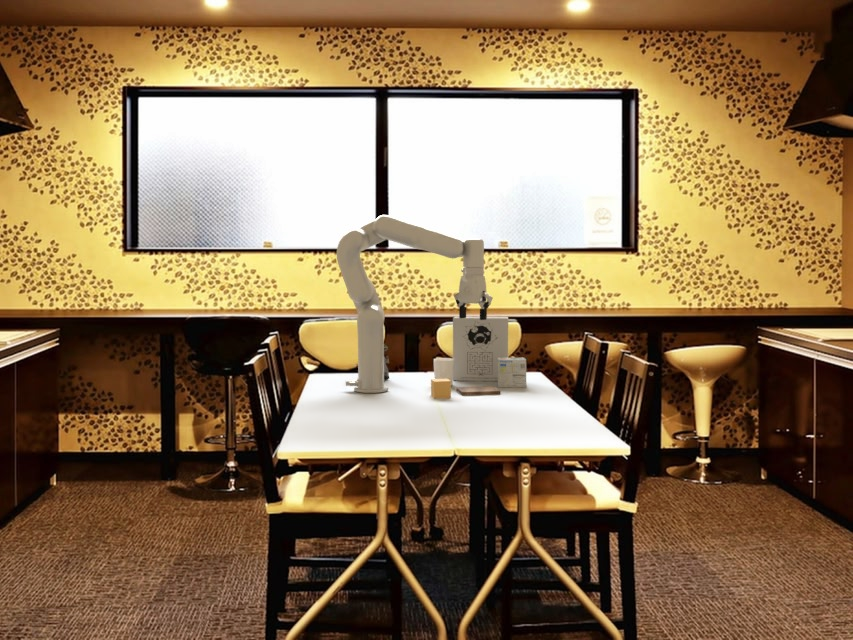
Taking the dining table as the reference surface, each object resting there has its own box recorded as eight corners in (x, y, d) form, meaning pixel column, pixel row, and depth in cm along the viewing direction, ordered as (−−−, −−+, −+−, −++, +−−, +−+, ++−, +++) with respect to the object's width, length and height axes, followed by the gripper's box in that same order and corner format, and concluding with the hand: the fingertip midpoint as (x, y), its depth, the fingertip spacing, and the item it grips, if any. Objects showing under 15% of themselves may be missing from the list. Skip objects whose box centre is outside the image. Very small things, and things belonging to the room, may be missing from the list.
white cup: (431, 386, 352) (431, 360, 351) (436, 383, 359) (436, 357, 358) (451, 386, 350) (451, 360, 349) (456, 383, 357) (456, 358, 356)
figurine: (373, 377, 375) (373, 340, 374) (391, 380, 367) (391, 342, 365) (355, 379, 369) (355, 342, 368) (373, 382, 361) (373, 344, 359)
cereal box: (507, 378, 371) (508, 316, 369) (507, 381, 363) (507, 318, 361) (454, 377, 373) (454, 316, 371) (452, 380, 365) (452, 317, 363)
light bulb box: (524, 384, 355) (524, 356, 354) (526, 387, 349) (527, 359, 348) (496, 384, 355) (496, 357, 354) (498, 387, 348) (498, 359, 347)
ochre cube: (434, 398, 324) (434, 381, 324) (431, 395, 330) (431, 379, 330) (450, 398, 325) (450, 381, 325) (447, 395, 331) (447, 378, 331)
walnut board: (462, 395, 330) (462, 392, 330) (456, 390, 341) (456, 387, 341) (500, 394, 333) (500, 390, 332) (493, 389, 343) (493, 386, 343)
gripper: (448, 271, 340) (448, 318, 341) (485, 273, 328) (484, 321, 330) (461, 271, 346) (461, 316, 347) (498, 272, 334) (497, 319, 335)
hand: (472, 318), depth 338 cm, fingers open, 9 cm apart
